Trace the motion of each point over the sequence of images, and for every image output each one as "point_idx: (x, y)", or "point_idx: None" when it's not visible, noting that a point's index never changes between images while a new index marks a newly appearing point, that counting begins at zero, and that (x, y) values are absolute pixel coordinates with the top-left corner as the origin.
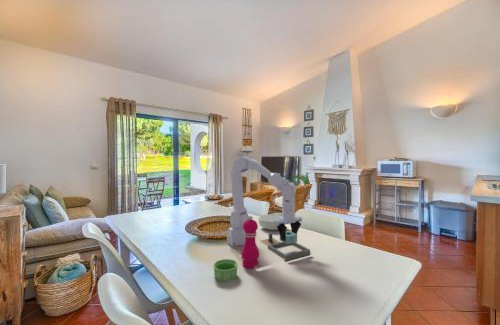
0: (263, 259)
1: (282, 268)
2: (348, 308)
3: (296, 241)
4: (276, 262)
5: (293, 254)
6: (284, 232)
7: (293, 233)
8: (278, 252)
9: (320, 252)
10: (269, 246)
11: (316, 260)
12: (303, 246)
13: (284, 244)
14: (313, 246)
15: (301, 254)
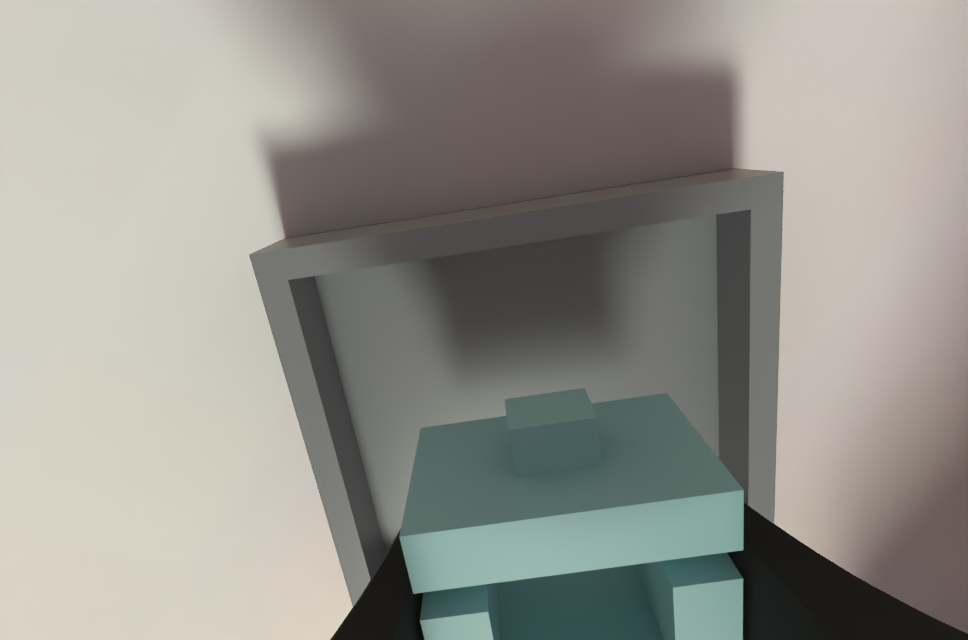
0: (937, 341)
1: (895, 2)
2: None
3: (435, 433)
4: (848, 205)
5: (613, 196)
6: (866, 611)
7: (457, 613)
8: (771, 352)
9: (80, 275)
10: None
11: (275, 53)
12: (296, 397)
13: None
14: (93, 471)
15: (443, 219)
